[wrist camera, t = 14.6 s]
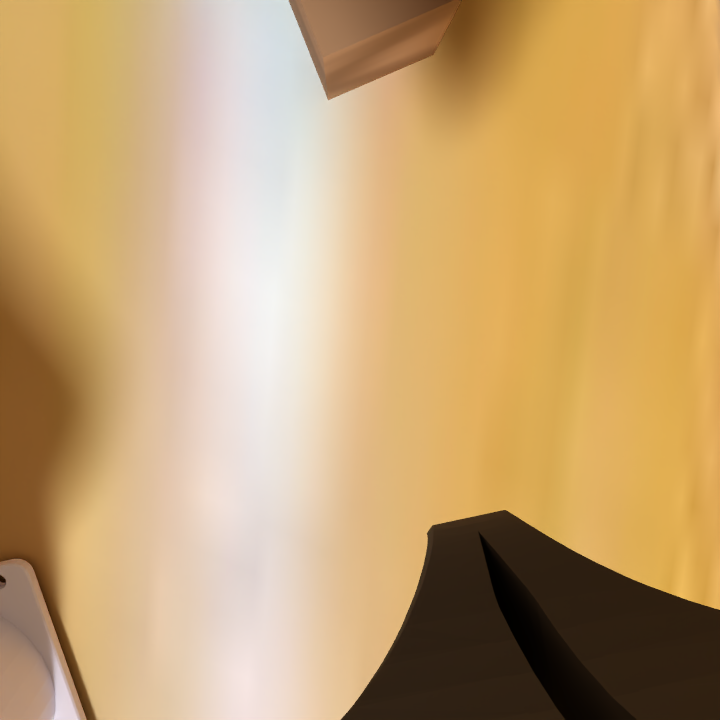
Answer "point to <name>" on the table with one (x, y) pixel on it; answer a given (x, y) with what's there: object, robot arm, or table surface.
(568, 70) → the table surface
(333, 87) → the tall brown box
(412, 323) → the table surface
